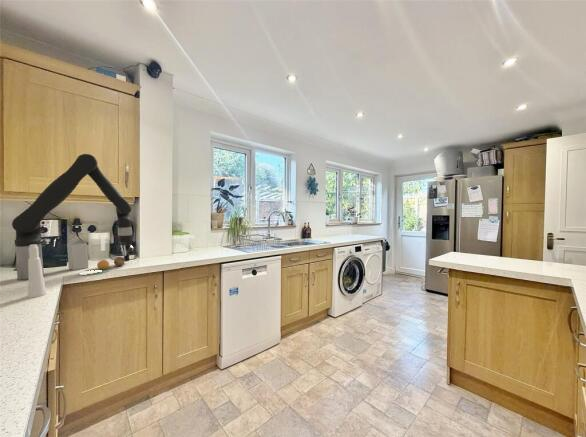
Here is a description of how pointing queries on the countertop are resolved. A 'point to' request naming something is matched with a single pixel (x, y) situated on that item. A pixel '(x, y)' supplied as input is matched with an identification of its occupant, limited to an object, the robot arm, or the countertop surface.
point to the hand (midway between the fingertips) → (126, 261)
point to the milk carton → (77, 254)
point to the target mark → (98, 272)
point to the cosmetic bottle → (35, 274)
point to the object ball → (103, 264)
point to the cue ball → (119, 261)
